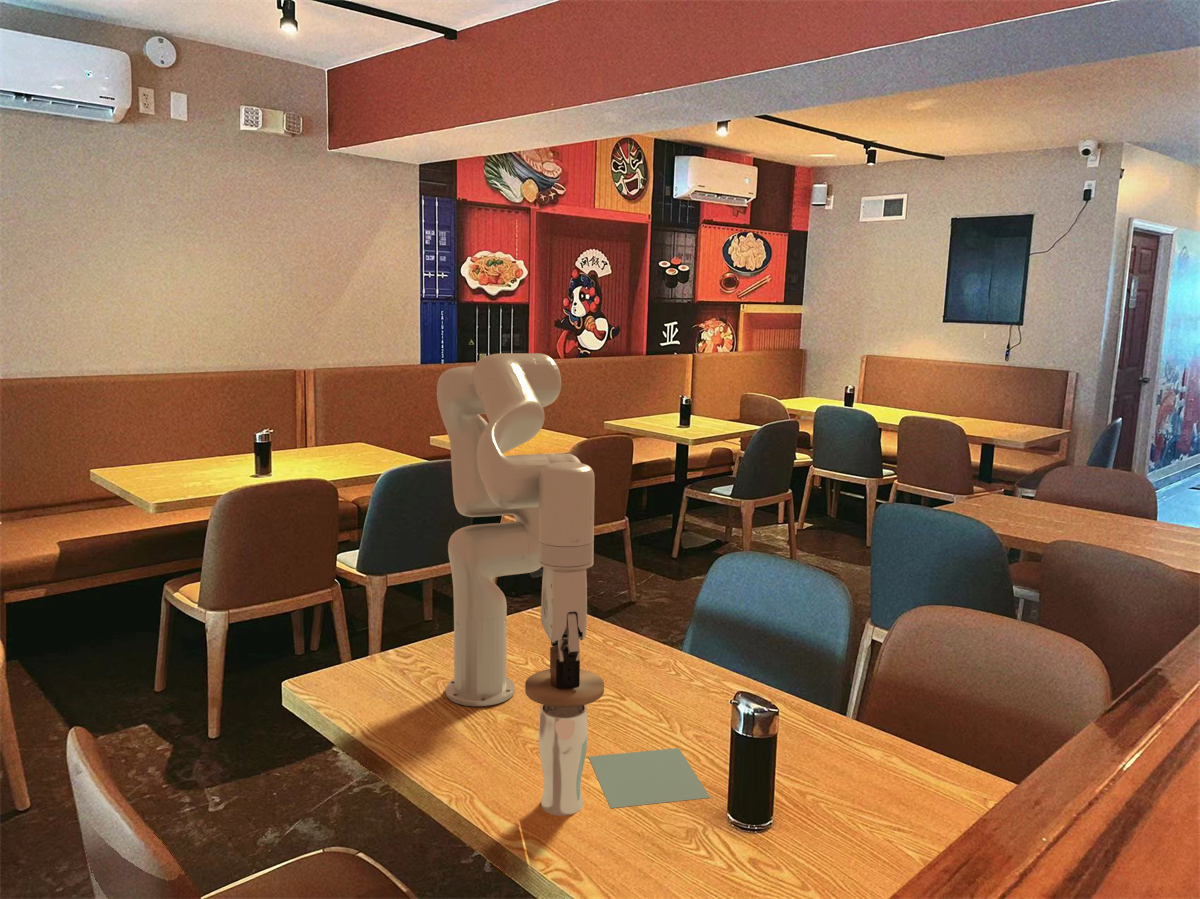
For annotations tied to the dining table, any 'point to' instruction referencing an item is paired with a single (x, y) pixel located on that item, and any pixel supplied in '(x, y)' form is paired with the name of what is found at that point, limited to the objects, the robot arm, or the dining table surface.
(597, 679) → the walnut lid
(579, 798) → the beer glass
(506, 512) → the robot arm
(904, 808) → the dining table surface
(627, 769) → the rubber mat
